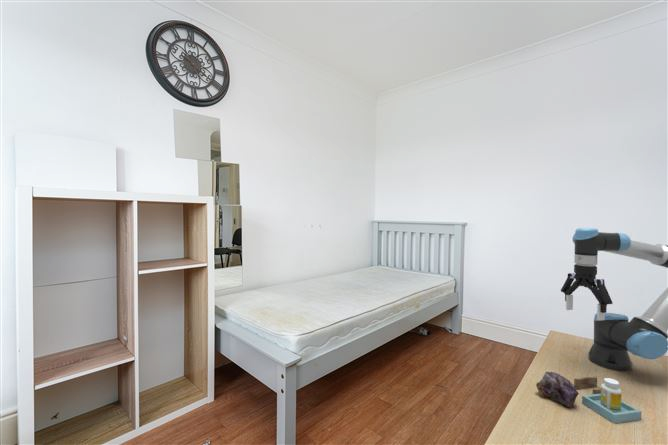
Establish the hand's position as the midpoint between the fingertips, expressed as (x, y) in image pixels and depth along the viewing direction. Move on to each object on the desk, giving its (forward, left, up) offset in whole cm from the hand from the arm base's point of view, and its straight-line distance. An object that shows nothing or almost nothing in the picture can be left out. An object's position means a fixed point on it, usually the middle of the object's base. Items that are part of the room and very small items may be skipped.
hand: (584, 314), depth 130 cm
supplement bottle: (+13, +21, -26) cm, 35 cm away
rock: (+25, +12, -27) cm, 38 cm away
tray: (+13, +21, -27) cm, 36 cm away
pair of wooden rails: (+7, +11, -27) cm, 30 cm away
